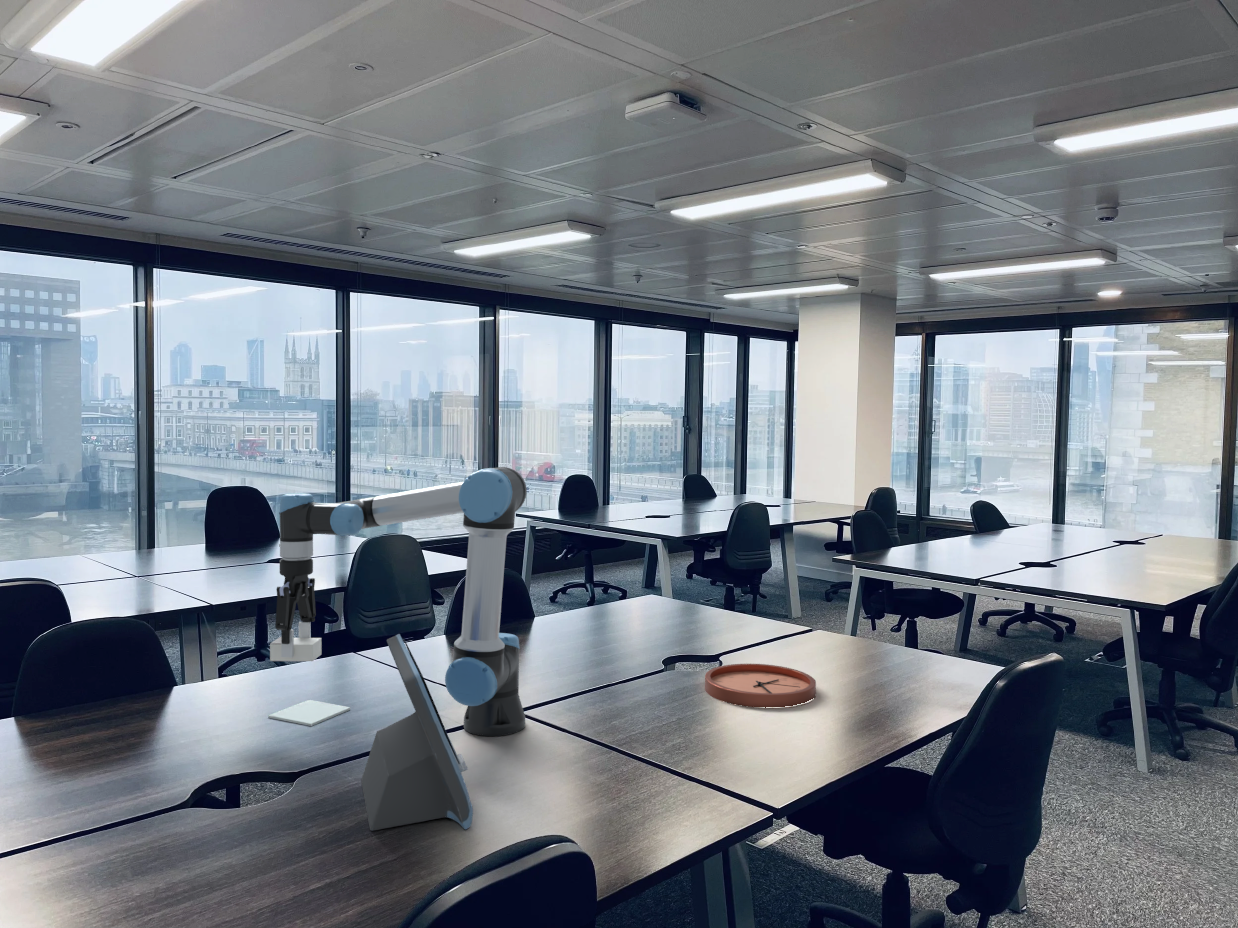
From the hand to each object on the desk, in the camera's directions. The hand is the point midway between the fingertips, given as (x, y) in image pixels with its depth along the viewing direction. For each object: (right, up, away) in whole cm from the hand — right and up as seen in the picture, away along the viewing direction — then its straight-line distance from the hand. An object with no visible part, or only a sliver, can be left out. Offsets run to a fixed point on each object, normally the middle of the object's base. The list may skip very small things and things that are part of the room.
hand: (296, 652), depth 208 cm
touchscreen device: (+37, -21, -36) cm, 56 cm away
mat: (-1, -18, +13) cm, 23 cm away
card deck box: (0, -1, 0) cm, 1 cm away
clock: (+118, -20, +40) cm, 126 cm away
